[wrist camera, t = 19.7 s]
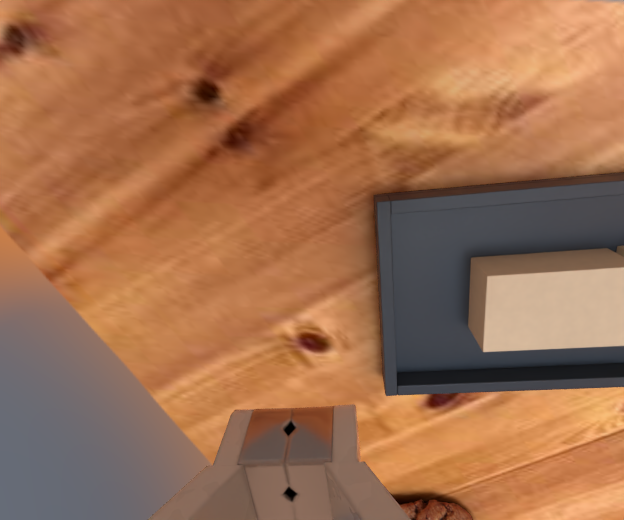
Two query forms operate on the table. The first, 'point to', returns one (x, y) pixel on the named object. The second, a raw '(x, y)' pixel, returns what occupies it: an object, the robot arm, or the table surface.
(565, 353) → the backing tray
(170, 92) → the table surface
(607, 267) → the beige rectangular block
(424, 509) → the cookie
